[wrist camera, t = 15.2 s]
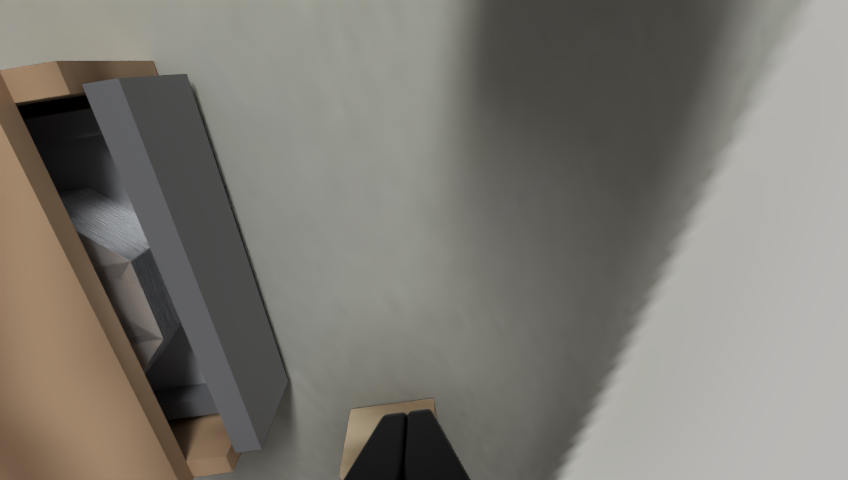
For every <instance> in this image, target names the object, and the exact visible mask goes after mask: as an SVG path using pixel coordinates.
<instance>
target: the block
mask: <svg viewBox="0 0 848 480" xmlns="http://www.w3.org/2000/svg"><path fill="white" fill-rule="evenodd" d="M421 409H430V410H431V411H432V412H433V414H434V415H435V417H436V419H437V415H436V410H435V404H434V399H433V398H431V399H423V400H416V401H409V402H401V403H394V404H386V405H379V406H371V407H364V408H357V409H351V411H350V417H349V422H348V428H347V433H346V439H345V444H344V450H343V455H342V461H341V466H340V472H339V475H340V478H341V480H344V478H345V476H346V475H347V473H348V472H349V470H350V468H351V467H352V465H353V463H354V462H355V460H356V459H357V457H358V455H359V454H360V452H361V450H362V449H363V447H364V445H365V444H366V442H367V441H368V439H369V437H370V436H371V434H372V432H373V431H374V429H375V428H376V426H377V424H378V423H379V421H380V419H381V418H382V417H383V416H384V415H386V414H392V413H399V412H405V413H406V414H407V415H408V413H409V412H410V411H414V410H421Z"/></svg>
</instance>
